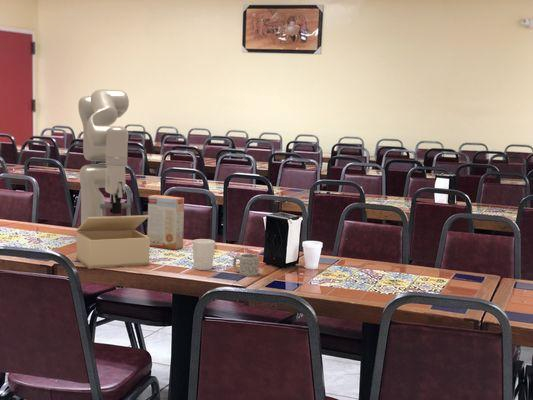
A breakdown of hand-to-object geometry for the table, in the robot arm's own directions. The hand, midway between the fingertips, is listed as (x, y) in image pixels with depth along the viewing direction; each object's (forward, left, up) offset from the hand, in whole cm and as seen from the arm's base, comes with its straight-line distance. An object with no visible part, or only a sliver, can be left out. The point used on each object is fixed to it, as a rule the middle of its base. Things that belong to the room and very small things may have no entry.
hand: (115, 212), depth 276 cm
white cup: (+16, +28, -19) cm, 37 cm away
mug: (+28, +39, -19) cm, 52 cm away
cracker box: (-24, +28, -19) cm, 41 cm away
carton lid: (-4, 0, -5) cm, 6 cm away
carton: (-3, 0, -19) cm, 19 cm away
